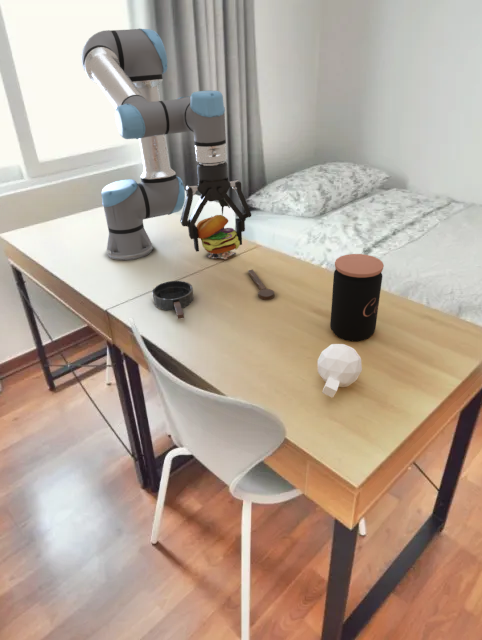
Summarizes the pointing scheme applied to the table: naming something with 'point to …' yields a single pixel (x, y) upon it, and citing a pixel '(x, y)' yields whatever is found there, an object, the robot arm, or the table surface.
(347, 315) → the coffee jar
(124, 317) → the table surface
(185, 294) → the pan
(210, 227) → the cheeseburger
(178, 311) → the pan handle
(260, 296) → the wooden spoon
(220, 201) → the grey brown figurine
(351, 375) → the perfume bottle
